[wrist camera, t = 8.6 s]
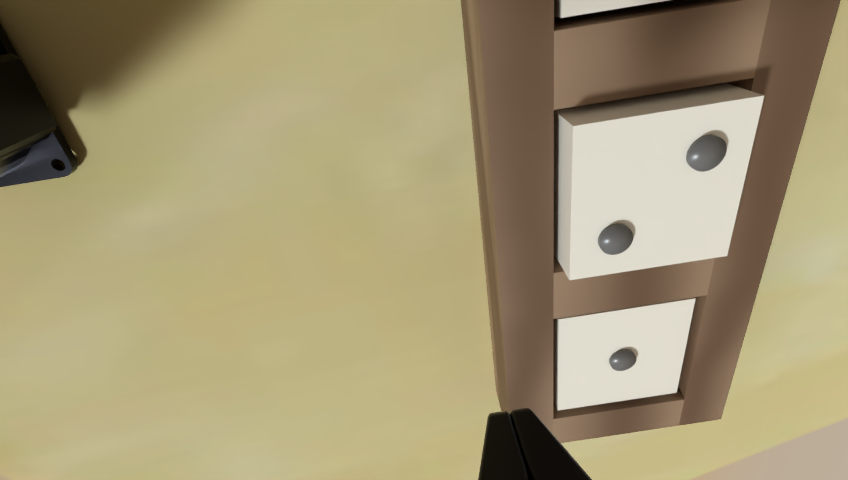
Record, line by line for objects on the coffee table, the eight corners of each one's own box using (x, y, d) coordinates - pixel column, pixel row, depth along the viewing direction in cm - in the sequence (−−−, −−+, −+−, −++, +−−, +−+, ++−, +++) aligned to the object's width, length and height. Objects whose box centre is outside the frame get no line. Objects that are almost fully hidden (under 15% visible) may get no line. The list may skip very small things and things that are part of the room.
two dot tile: (548, 245, 20) (571, 283, 17) (548, 105, 17) (575, 127, 14) (688, 223, 20) (730, 258, 17) (713, 78, 16) (769, 96, 14)
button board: (496, 390, 27) (511, 450, 24) (433, -300, 13) (449, -398, 10) (678, 362, 27) (720, 419, 24) (822, -368, 13) (981, -494, 9)
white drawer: (542, 371, 25) (559, 413, 23) (541, 284, 22) (560, 322, 20) (650, 355, 25) (678, 395, 23) (664, 265, 22) (698, 301, 20)
